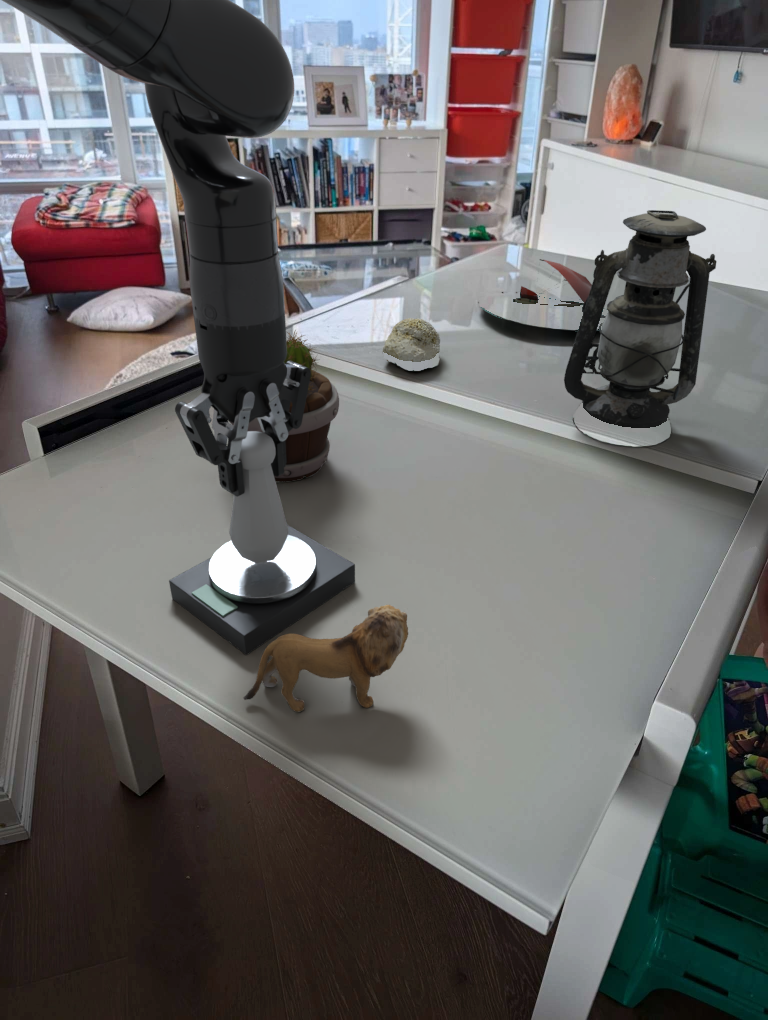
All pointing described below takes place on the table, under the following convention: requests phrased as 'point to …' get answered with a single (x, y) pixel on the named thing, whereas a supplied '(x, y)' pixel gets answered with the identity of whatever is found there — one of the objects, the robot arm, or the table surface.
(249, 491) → the salt shaker
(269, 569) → the scale pan
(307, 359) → the flowerpot
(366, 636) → the lion figurine
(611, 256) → the lantern
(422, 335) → the decorative item
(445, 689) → the table surface
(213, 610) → the scale
